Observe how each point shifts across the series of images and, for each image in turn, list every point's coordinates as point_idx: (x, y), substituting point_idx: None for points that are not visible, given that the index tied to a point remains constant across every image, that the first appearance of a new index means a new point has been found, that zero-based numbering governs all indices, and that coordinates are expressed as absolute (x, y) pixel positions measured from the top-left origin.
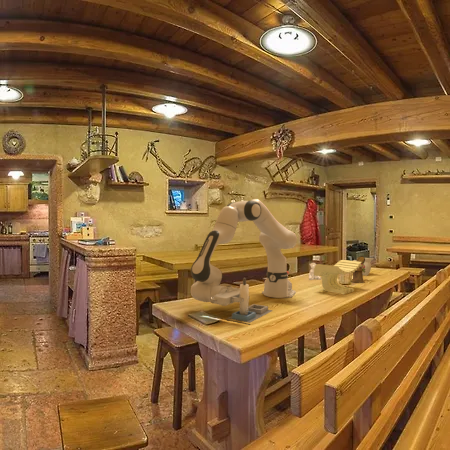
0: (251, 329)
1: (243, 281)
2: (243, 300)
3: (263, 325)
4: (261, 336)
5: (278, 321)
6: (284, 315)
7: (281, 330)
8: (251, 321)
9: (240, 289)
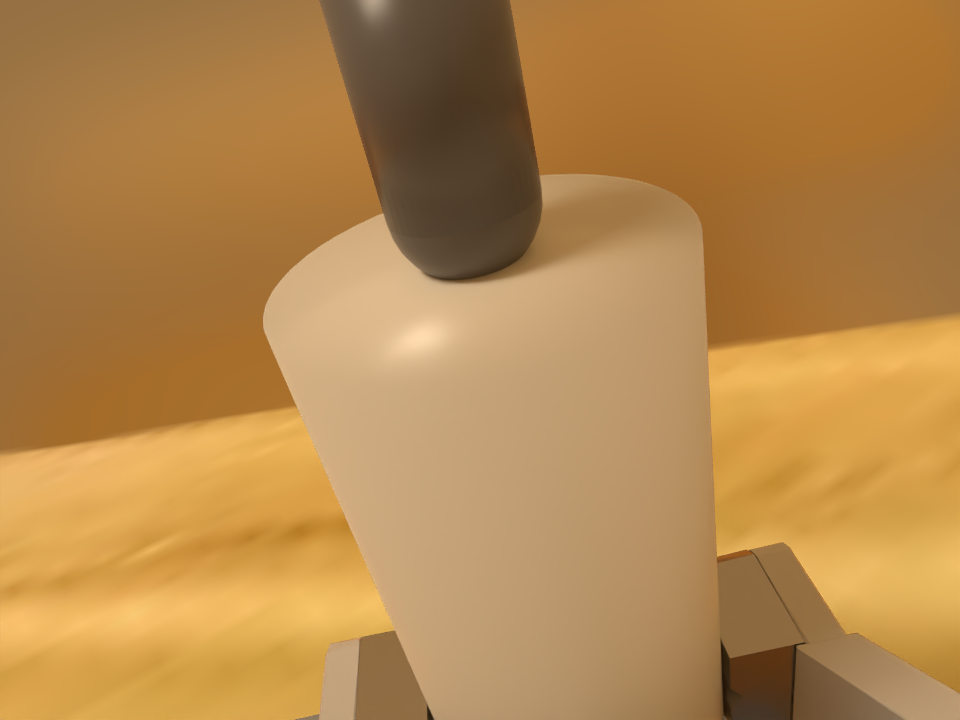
0: (860, 514)
1: (513, 56)
2: None
3: None
4: (888, 360)
5: None
6: (89, 619)
7: None
8: None
9: (709, 445)
